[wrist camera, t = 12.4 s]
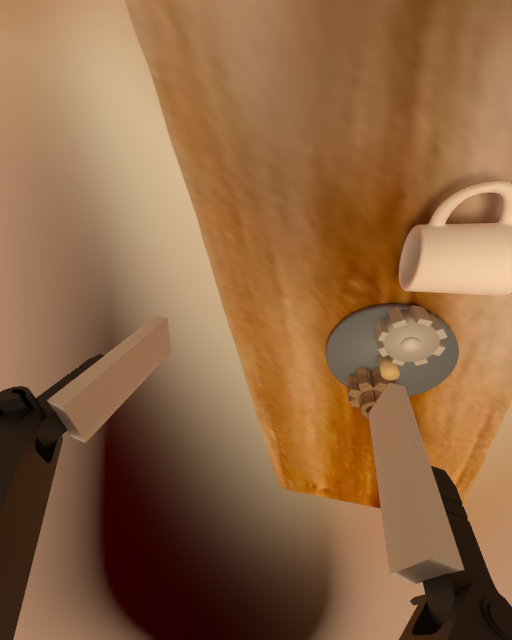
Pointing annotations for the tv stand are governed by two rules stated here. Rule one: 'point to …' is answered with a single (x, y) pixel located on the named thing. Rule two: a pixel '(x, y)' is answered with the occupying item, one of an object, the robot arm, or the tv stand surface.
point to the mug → (461, 250)
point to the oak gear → (366, 388)
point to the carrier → (394, 346)
